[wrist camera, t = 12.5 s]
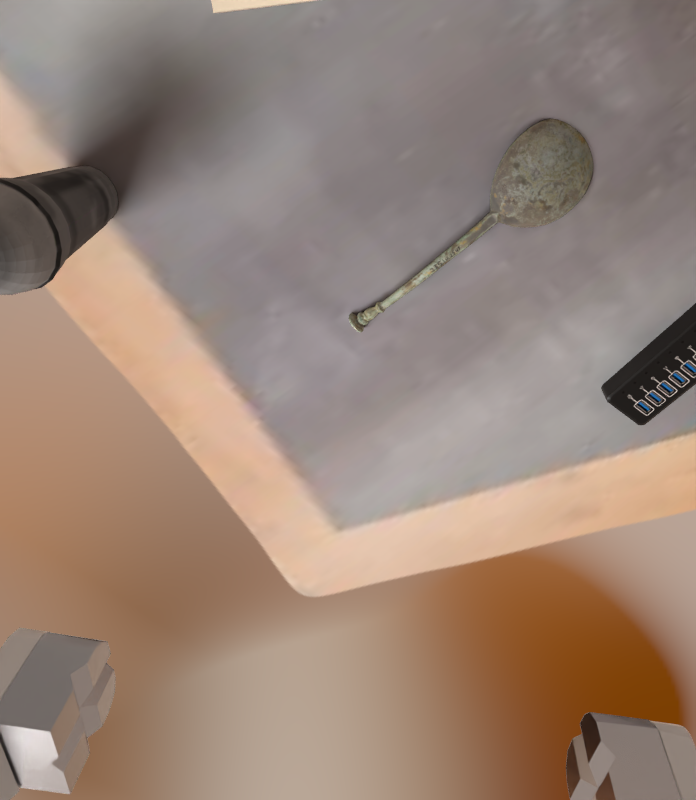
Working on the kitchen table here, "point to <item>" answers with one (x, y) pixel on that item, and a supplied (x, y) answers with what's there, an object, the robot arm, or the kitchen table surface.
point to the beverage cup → (49, 222)
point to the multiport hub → (656, 372)
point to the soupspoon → (519, 193)
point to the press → (250, 4)
